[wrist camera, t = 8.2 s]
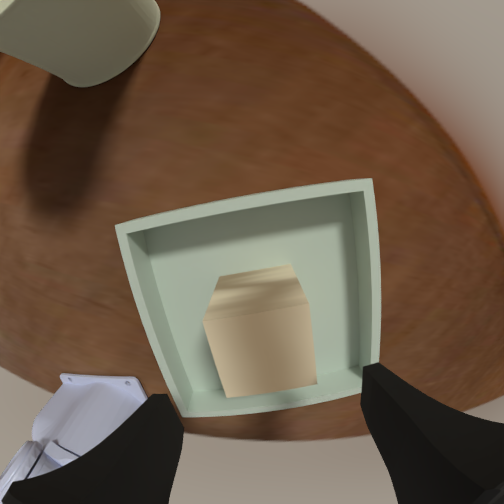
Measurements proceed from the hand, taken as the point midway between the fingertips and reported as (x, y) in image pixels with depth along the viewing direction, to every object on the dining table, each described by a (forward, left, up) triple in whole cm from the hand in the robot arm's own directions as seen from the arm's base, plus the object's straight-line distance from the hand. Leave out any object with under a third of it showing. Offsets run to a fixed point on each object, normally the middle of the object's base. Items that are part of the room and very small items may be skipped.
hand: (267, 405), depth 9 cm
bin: (0, 0, -9) cm, 9 cm away
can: (-8, +22, -10) cm, 25 cm away
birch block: (0, 0, -9) cm, 9 cm away
